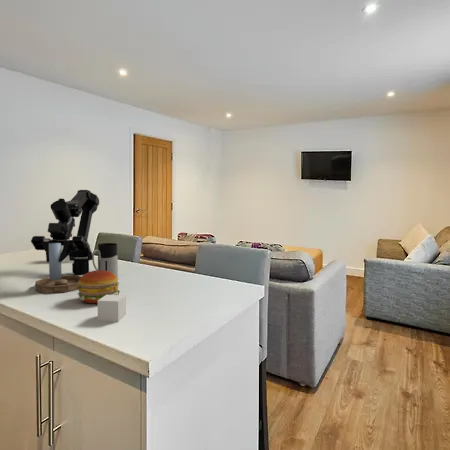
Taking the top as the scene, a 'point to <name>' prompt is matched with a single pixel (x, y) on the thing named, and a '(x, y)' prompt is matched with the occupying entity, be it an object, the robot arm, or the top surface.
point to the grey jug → (107, 258)
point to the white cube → (111, 308)
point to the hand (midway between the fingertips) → (53, 261)
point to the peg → (54, 261)
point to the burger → (97, 285)
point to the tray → (58, 284)
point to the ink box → (67, 259)
